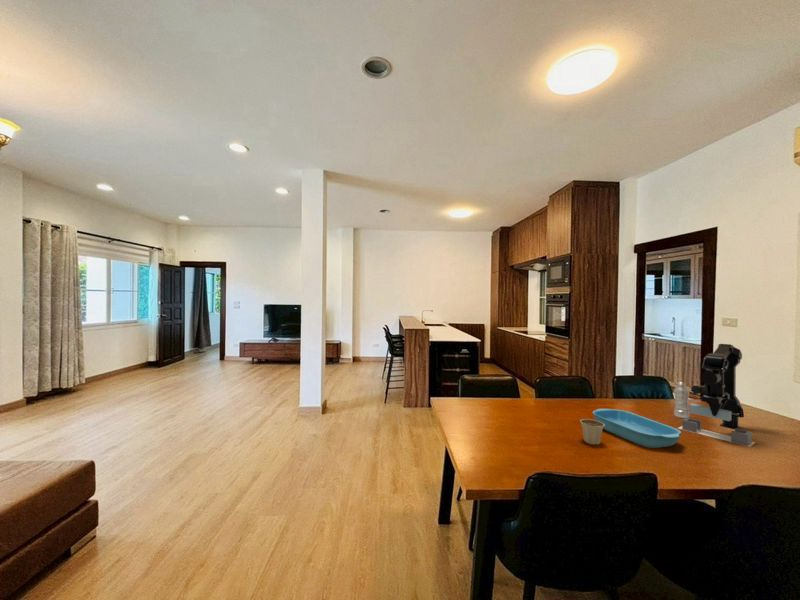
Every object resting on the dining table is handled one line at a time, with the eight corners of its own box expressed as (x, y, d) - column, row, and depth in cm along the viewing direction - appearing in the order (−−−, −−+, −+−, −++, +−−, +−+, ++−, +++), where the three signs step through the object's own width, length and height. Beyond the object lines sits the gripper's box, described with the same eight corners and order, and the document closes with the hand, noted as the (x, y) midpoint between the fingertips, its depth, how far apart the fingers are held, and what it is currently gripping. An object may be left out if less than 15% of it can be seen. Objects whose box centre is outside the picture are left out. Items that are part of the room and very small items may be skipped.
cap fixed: (687, 426, 164) (687, 417, 164) (701, 429, 160) (701, 420, 160) (682, 429, 160) (682, 420, 160) (696, 432, 156) (696, 423, 156)
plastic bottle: (692, 420, 175) (692, 383, 175) (678, 419, 176) (678, 382, 177) (684, 417, 181) (684, 381, 182) (671, 416, 183) (671, 380, 183)
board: (683, 426, 166) (683, 424, 166) (755, 444, 146) (755, 442, 146) (677, 429, 161) (677, 428, 161) (750, 448, 141) (750, 446, 141)
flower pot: (601, 439, 148) (601, 420, 148) (607, 448, 139) (607, 427, 139) (578, 436, 151) (578, 417, 151) (582, 444, 142) (582, 424, 142)
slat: (691, 411, 161) (691, 403, 162) (731, 419, 150) (731, 411, 150) (689, 412, 160) (689, 404, 160) (729, 421, 148) (729, 412, 148)
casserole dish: (694, 449, 139) (694, 433, 139) (654, 455, 133) (654, 437, 134) (617, 420, 175) (617, 406, 175) (582, 423, 169) (583, 409, 169)
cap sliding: (748, 445, 141) (747, 435, 142) (731, 441, 146) (731, 431, 146) (751, 441, 146) (751, 431, 146) (735, 437, 150) (735, 428, 150)
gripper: (699, 376, 165) (699, 407, 165) (686, 380, 155) (686, 413, 155) (729, 381, 156) (730, 413, 156) (718, 385, 146) (718, 420, 145)
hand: (715, 415), depth 153 cm, fingers closed on slat, 3 cm apart
